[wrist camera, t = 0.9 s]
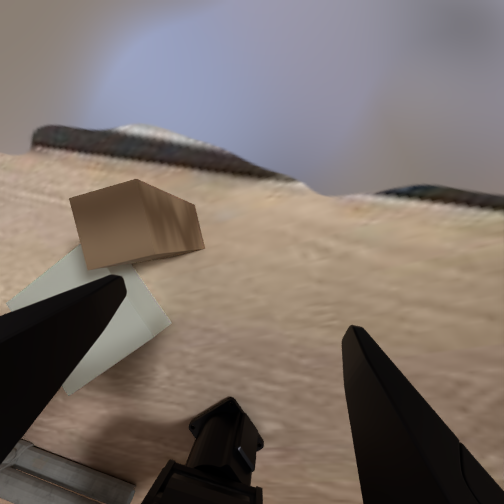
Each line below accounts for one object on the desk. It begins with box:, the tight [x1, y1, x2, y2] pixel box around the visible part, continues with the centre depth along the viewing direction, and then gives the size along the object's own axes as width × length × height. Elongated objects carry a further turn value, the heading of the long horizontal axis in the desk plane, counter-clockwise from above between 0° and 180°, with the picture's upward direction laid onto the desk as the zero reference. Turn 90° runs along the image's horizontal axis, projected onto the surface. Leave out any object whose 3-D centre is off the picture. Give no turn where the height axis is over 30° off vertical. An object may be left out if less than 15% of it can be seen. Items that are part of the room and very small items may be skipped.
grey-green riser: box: [6, 244, 171, 396], centre depth 24 cm, size 12×12×4 cm
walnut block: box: [69, 179, 205, 270], centre depth 19 cm, size 5×5×10 cm
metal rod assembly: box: [0, 439, 135, 504], centre depth 25 cm, size 26×3×5 cm, turn 76°
